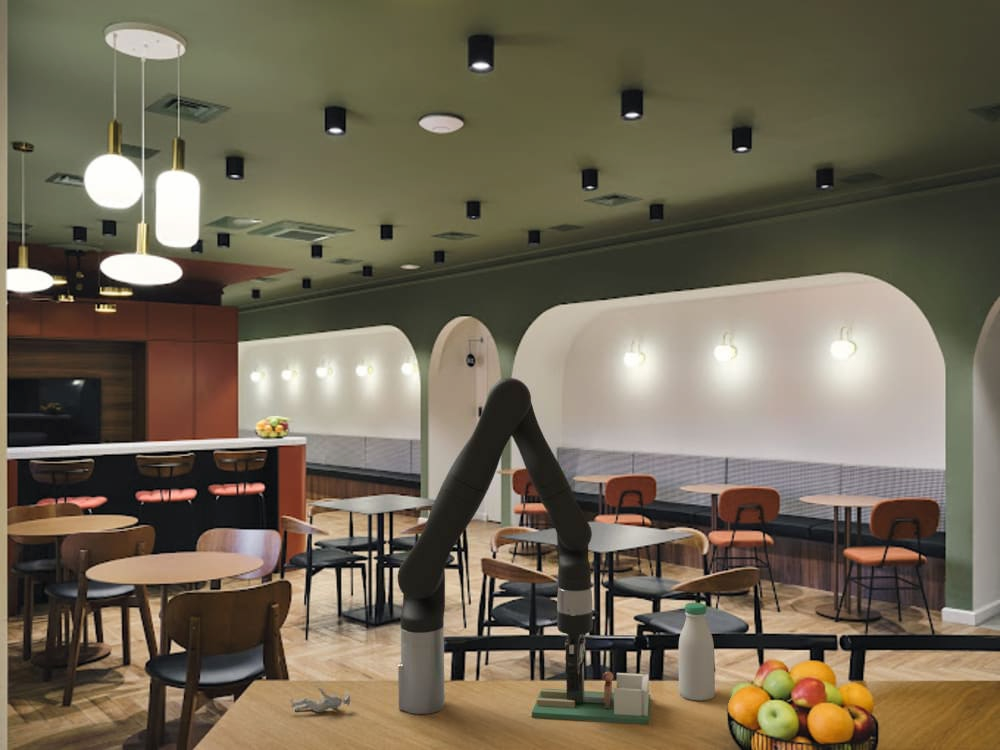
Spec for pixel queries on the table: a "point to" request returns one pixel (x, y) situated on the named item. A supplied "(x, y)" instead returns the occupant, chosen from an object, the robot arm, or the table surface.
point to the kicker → (591, 698)
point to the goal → (631, 694)
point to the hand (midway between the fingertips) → (575, 684)
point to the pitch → (580, 709)
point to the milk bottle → (696, 656)
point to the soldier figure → (321, 702)
